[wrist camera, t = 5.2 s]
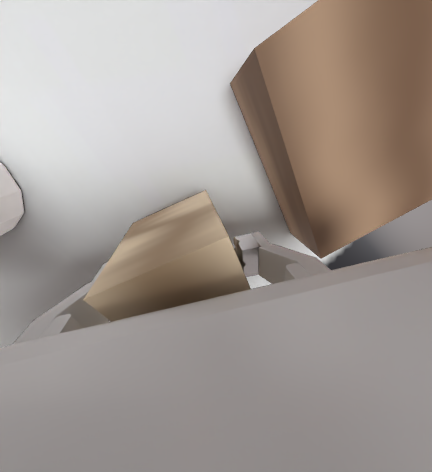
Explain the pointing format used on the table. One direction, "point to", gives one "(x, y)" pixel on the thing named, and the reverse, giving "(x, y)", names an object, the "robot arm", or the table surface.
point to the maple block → (169, 263)
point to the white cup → (9, 201)
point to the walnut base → (343, 116)
